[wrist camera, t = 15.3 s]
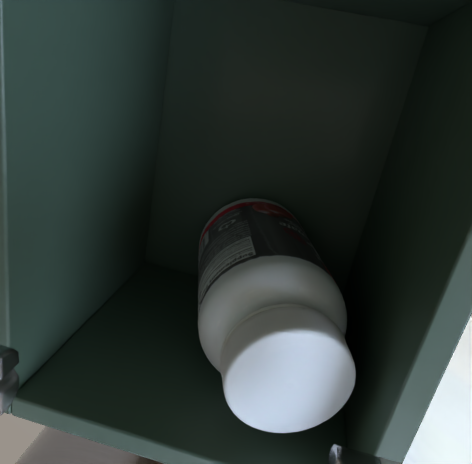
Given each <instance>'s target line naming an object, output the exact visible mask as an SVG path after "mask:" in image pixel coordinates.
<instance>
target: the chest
mask: <svg viewBox="0 0 472 464" xmlns="http://www.w3.org/2000/svg"><path fill="white" fill-rule="evenodd" d="M248 198H258V199H266V200H269V201H273V202H276V203H278V204H280V205H281V206H283V207H285V208H286V209H287V210H288V211H290V212H291V213H292V214H293V216H294V217H295V218H296V219H297V220H298V222H299V223H300V225H301V226H302V228H303V230H304V231H305V233H306V235H307V237H308V238H309V240H310V242H311V243H312V245H313V247H314V248H315V250H316V252H317V253H318V255H319V256H320V258H321V260H322V261H323V263H324V264H325V266H326V268H327V270H328V271H329V272H330V274H331V276H332V278H333V279H334V281H335V282H336V284H337V286H338V287H339V290H340V292H341V294H342V296H343V299H344V302H345V306H346V310H347V329H346V334H345V337H344V338H345V340H346V343H347V346H348V348H349V350H350V352H351V355H352V357H353V360H354V363H355V369H356V379H355V385H354V388H353V391H352V393H351V395H350V397H349V399H348V400H347V402H346V403H345V404H344V405H343V407H342V408H341V409H340V410H339V411H338V412H337V413H336V414H335V415H333V416H332V417H331V418H330V419H328V420H326V421H324V422H323V423H321V424H319V425H317V426H315V427H312V428H309V429H306V430H303V431H298V432H290V433H273V432H267V431H262V430H259V429H256V428H253V427H251V426H249V425H247V424H246V423H244V422H243V421H241V420H240V419H239V418H238V417H237V416H236V415H235V414H234V413H233V412H232V410H231V409H230V407H229V406H228V404H227V402H226V399H225V396H224V390H223V383H222V376H221V373H220V372H219V371H218V370H217V369H216V368H215V367H214V366H213V365H212V364H211V362H210V361H209V360H208V358H207V357H206V355H205V353H204V351H203V348H202V346H201V343H200V338H199V331H198V264H199V261H198V256H199V242H200V238H201V234H202V231H203V229H204V227H205V225H206V224H207V222H208V221H209V220H210V218H211V217H212V216H213V215H214V214H215V213H216V212H217V211H218V210H220V209H221V208H222V207H224V206H226V205H229V204H230V203H233V202H235V201H238V200H241V199H248ZM471 314H472V0H0V345H3V346H6V347H9V348H12V349H15V350H16V351H18V352H19V363H18V364H17V365H16V366H15V367H14V369H15V371H16V372H17V374H18V376H19V388H18V391H17V395H16V396H15V398H14V400H13V402H12V403H11V405H10V406H9V408H8V409H7V410H6V411H5V412H4V413H7V414H10V413H12V414H13V415H14V416H17V417H20V418H23V419H26V420H29V421H32V422H36V423H39V424H42V425H45V426H48V427H51V428H54V429H58V430H61V431H64V432H67V433H70V434H73V435H76V436H80V437H83V438H86V439H89V440H92V441H95V442H99V443H102V444H105V445H108V446H111V447H114V448H117V449H121V450H124V451H127V452H130V453H133V454H136V455H139V456H143V457H146V458H149V459H152V460H155V461H158V462H162V463H165V464H329V458H328V456H329V453H330V450H331V448H332V446H333V445H334V444H336V445H340V446H343V447H347V448H350V449H354V450H357V451H361V452H364V453H368V454H371V455H375V456H377V457H382V458H385V459H389V460H392V461H396V462H399V463H401V464H402V463H403V461H404V459H405V456H406V454H407V452H408V450H409V448H410V446H411V443H412V441H413V439H414V437H415V435H416V433H417V430H418V428H419V426H420V424H421V422H422V420H423V418H424V415H425V413H426V411H427V409H428V407H429V405H430V402H431V400H432V398H433V396H434V394H435V392H436V389H437V387H438V385H439V383H440V381H441V379H442V377H443V374H444V372H445V370H446V368H447V366H448V364H449V361H450V359H451V357H452V355H453V353H454V351H455V349H456V346H457V344H458V342H459V340H460V338H461V336H462V333H463V331H464V329H465V327H466V325H467V323H468V320H469V318H470V316H471Z"/></svg>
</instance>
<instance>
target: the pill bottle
mask: <svg viewBox="0 0 472 464" xmlns="http://www.w3.org/2000/svg"><path fill="white" fill-rule="evenodd" d="M198 261H199V264H198V331H199V338H200V343H201V346H202V348H203V351H204V353H205V355H206V357H207V358H208V360H209V361H210V362H211V364H212V365H213V366H214V367H215V368H216V369H217V370H218V371H219V372H220V373H221V376H222V383H223V390H224V396H225V399H226V402H227V404H228V406H229V407H230V409H231V410H232V412H233V413H234V414H235V415H236V416H237V417H238V418H239V419H240V420H241V421H243V422H244V423H246V424H247V425H249V426H251V427H253V428H256V429H259V430H262V431H267V432H273V433H290V432H298V431H303V430H306V429H309V428H312V427H315V426H317V425H319V424H321V423H323V422H324V421H326V420H328V419H330V418H331V417H332V416H333V415H335V414H336V413H337V412H338V411H339V410H340V409H341V408H342V407H343V405H344V404H345V403H346V402H347V400H348V399H349V397H350V395H351V393H352V391H353V388H354V385H355V379H356V369H355V363H354V360H353V357H352V355H351V352H350V350H349V348H348V346H347V343H346V340H345V338H344V337H345V334H346V329H347V310H346V306H345V302H344V299H343V296H342V294H341V292H340V290H339V287H338V286H337V284H336V282H335V281H334V279H333V278H332V276H331V274H330V272H329V271H328V270H327V268H326V266H325V264H324V263H323V261H322V260H321V258H320V256H319V255H318V253H317V252H316V250H315V248H314V247H313V245H312V243H311V242H310V240H309V238H308V237H307V235H306V233H305V231H304V230H303V228H302V226H301V225H300V223H299V222H298V220H297V219H296V218H295V217H294V216H293V214H292V213H291V212H290V211H288V210H287V209H286V208H285V207H283V206H281V205H280V204H278V203H276V202H273V201H269V200H266V199H258V198H248V199H241V200H238V201H235V202H233V203H230V204H229V205H226V206H224V207H222V208H221V209H220V210H218V211H217V212H216V213H215V214H214V215H213V216H212V217H211V218H210V220H209V221H208V222H207V224H206V225H205V227H204V229H203V231H202V234H201V238H200V242H199V256H198Z"/></svg>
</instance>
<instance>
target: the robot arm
mask: <svg viewBox="0 0 472 464" xmlns="http://www.w3.org/2000/svg"><path fill="white" fill-rule="evenodd" d="M18 363H19V352H18V351H16V350H15V349H12V348H9V347H6V346H3V345H0V415H2V414H3V413H4V412H5V411H6V410H7V409H8V408H9V406H10V405H11V403H12V402H13V400H14V398H15V396H16V395H17V391H18V388H19V376H18V374H17V372H16V371H15V369H14V367H15V366H16V365H17V364H18ZM328 458H329V464H401V463H399V462H396V461H392V460H389V459H385V458H382V457H377V456H375V455H371V454H368V453H364V452H361V451H357V450H354V449H350V448H347V447H343V446H340V445H336V444H334V445H333V446H332V448H331V450H330V453H329V456H328Z"/></svg>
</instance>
